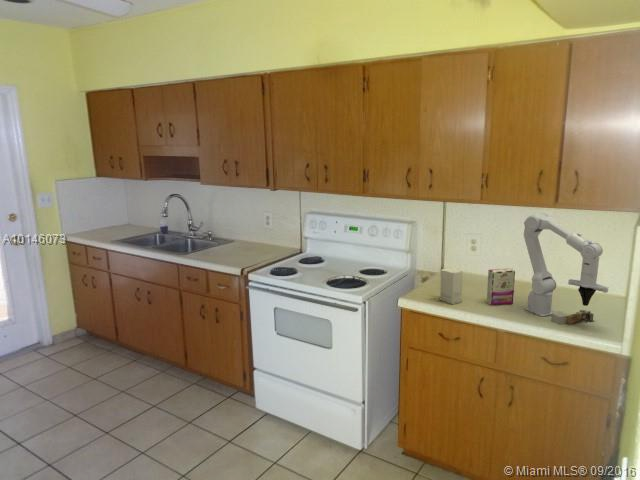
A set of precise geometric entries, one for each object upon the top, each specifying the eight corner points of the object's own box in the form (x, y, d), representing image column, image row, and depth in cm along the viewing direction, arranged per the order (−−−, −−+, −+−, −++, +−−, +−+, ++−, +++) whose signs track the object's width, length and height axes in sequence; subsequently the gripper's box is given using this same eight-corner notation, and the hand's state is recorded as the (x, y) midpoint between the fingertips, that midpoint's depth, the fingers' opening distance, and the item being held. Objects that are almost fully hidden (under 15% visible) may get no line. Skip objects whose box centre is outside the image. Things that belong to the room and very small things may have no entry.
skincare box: (461, 302, 220) (463, 271, 217) (451, 305, 217) (453, 273, 214) (448, 297, 227) (450, 266, 224) (439, 299, 224) (440, 268, 221)
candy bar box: (507, 300, 222) (510, 267, 218) (513, 304, 217) (516, 270, 214) (485, 302, 220) (488, 269, 217) (491, 305, 215) (493, 272, 212)
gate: (584, 316, 200) (585, 308, 199) (591, 319, 197) (592, 311, 196) (564, 321, 194) (565, 313, 194) (571, 324, 192) (572, 316, 191)
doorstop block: (551, 320, 198) (551, 313, 197) (560, 319, 199) (560, 312, 198) (558, 324, 193) (559, 316, 193) (567, 323, 194) (568, 315, 194)
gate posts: (575, 319, 198) (576, 312, 197) (585, 317, 200) (585, 310, 199) (585, 323, 194) (585, 316, 193) (594, 321, 196) (595, 314, 196)
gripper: (566, 271, 190) (562, 302, 193) (604, 279, 179) (600, 312, 182) (574, 268, 194) (570, 298, 197) (612, 275, 183) (607, 308, 186)
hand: (585, 305), depth 190 cm, fingers closed
